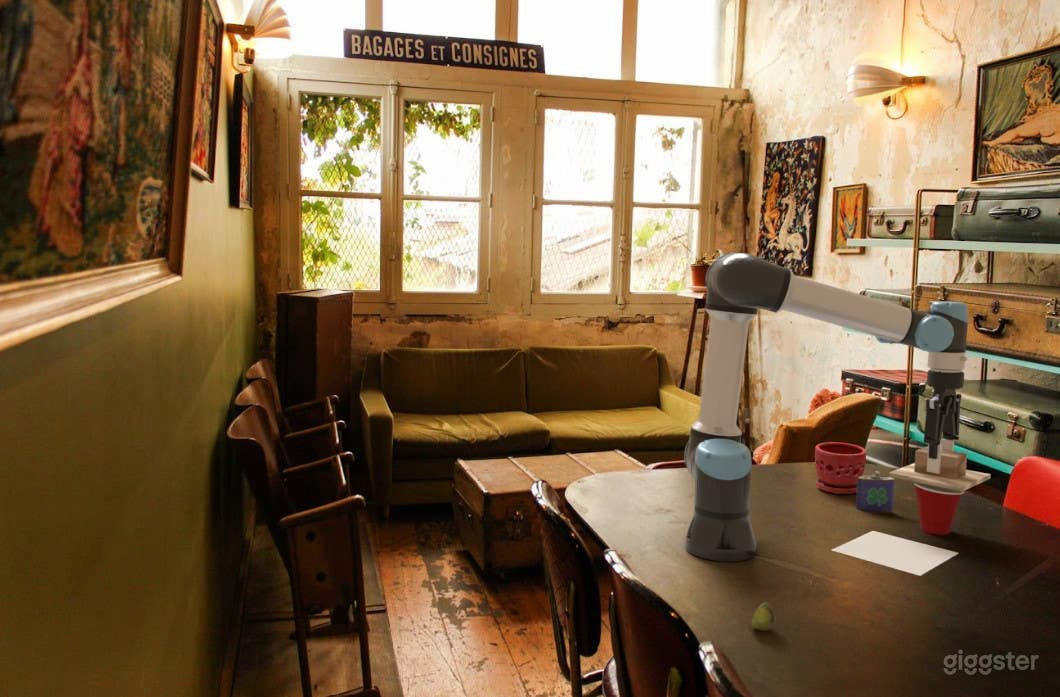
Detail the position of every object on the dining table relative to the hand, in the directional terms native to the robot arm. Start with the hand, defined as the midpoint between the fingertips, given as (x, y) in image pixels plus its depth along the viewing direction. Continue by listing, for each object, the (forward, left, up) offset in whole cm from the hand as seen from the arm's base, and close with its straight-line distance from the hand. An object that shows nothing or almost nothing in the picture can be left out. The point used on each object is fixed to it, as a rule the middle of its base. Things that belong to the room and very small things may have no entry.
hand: (939, 469), depth 191 cm
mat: (-21, 0, -15) cm, 26 cm away
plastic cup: (0, 0, -16) cm, 16 cm away
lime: (-73, -1, -16) cm, 75 cm away
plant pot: (+17, +33, -16) cm, 40 cm away
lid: (0, 0, -2) cm, 2 cm away
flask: (+5, +17, -16) cm, 24 cm away
